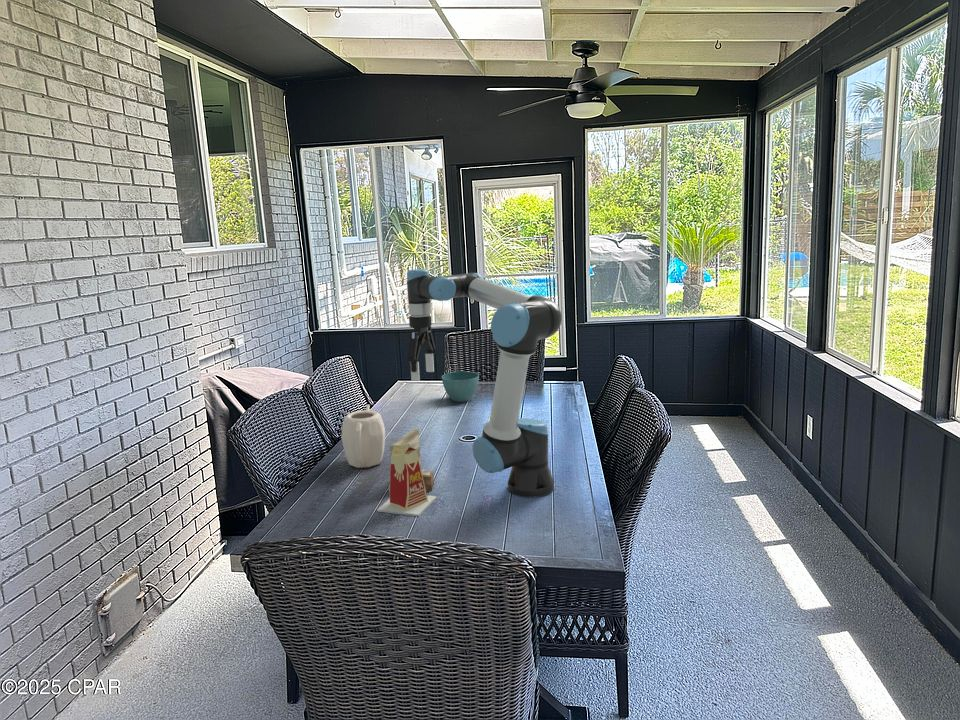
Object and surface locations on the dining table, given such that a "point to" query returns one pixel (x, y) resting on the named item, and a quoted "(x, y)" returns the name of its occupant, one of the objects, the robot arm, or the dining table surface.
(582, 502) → the dining table surface
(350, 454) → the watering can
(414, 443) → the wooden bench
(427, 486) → the walnut cube
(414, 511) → the mat
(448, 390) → the teal bowl
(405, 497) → the milk carton
